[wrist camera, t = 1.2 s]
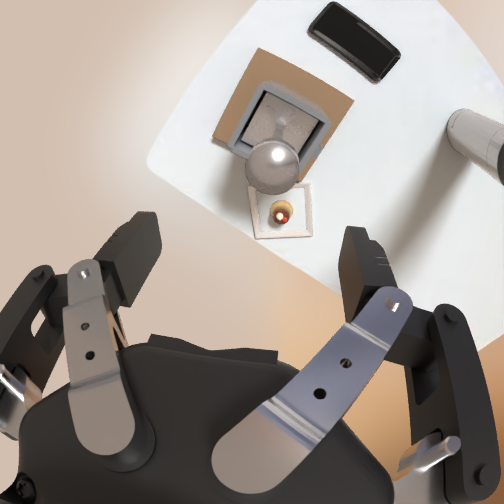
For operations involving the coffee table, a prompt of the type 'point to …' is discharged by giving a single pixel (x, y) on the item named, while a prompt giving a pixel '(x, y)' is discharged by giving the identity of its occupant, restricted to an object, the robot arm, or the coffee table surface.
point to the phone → (355, 40)
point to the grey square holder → (292, 91)
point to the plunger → (276, 144)
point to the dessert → (282, 214)
